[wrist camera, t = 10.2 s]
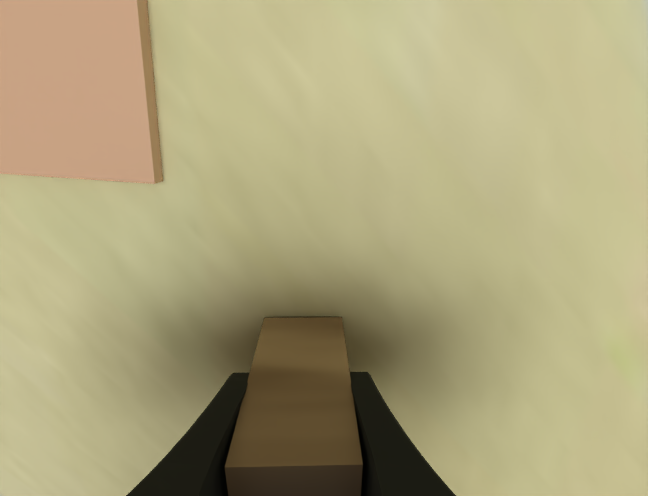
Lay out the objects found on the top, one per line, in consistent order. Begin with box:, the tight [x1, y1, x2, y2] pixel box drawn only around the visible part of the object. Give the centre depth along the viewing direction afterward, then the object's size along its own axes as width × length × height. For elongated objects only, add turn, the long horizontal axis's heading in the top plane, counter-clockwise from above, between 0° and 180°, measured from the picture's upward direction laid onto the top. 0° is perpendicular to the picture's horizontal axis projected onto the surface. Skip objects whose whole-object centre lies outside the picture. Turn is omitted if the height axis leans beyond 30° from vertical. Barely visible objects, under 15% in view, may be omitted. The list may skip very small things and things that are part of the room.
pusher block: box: [225, 317, 363, 496], centre depth 11 cm, size 3×3×6 cm
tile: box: [0, 0, 163, 184], centre depth 10 cm, size 1×7×8 cm
